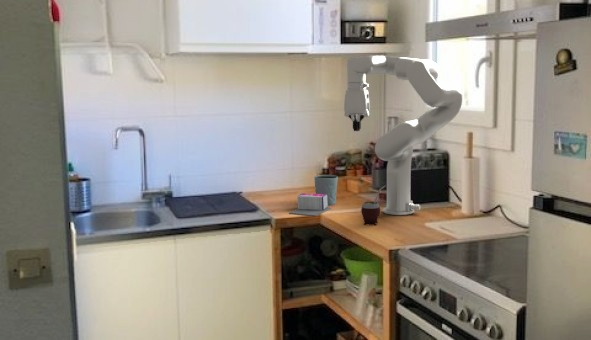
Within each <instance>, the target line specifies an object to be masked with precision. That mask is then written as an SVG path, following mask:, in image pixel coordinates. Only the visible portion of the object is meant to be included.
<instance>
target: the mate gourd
mask: <svg viewBox="0 0 591 340" xmlns="http://www.w3.org/2000/svg"><path fill="white" fill-rule="evenodd" d="M385 187H387V184H385V185H384V186H382V187H380V188H379V189H378V191H377V194H376V196H375V199H374V201H365V202H363V203H362V205H361V209H360V211H361V215H362V218H363V226H366V225H367V226H368V225H372V226H377V224H378V223H379V221H378V220H379V216H380V214H381V206H380V205H379V203H378V202H377V200H378V198H379V195H380V193H381V191H382V189H384V188H385Z"/></svg>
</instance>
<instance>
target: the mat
mask: <svg viewBox="0 0 591 340" xmlns="http://www.w3.org/2000/svg"><path fill="white" fill-rule="evenodd" d="M331 209H332V207H329V206H328V207H327V208H326V209H325V210H310V209H298V208H296V209H294V210H292V211H289V212H288V214H289V215H297V216H299V215H301V216H306V217H307V216H308V217H309V216H310V217H317V216H318V215H321V214H323V213H326V212H327V211H329V210H331Z"/></svg>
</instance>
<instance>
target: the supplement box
mask: <svg viewBox="0 0 591 340" xmlns="http://www.w3.org/2000/svg"><path fill="white" fill-rule="evenodd" d="M327 207H328V208H329V206H328V203H327V194H316V193H308V192H307V193H303V192H301V193H300V194H299V195H297V209H310V210H325V209H326V208H327Z"/></svg>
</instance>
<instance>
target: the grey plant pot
mask: <svg viewBox="0 0 591 340" xmlns="http://www.w3.org/2000/svg"><path fill="white" fill-rule="evenodd" d="M313 178H314V187H315V194H327V203H328V207H330V206H335V205H336V204H337V191H338V189H337V188H338V182H339V181H338V179H339V177H338V175H333V174H319V175H315V176H313Z"/></svg>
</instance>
